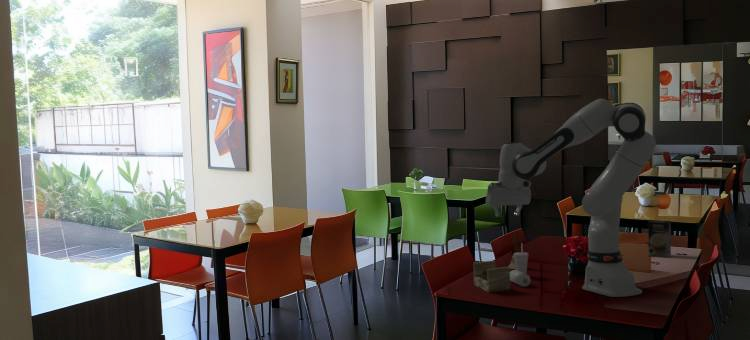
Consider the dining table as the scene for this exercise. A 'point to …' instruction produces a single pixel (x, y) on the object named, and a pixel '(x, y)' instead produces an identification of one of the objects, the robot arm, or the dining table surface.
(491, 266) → the holder
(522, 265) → the smoothie
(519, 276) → the roll
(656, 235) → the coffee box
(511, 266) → the hand bell
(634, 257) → the dining table surface
